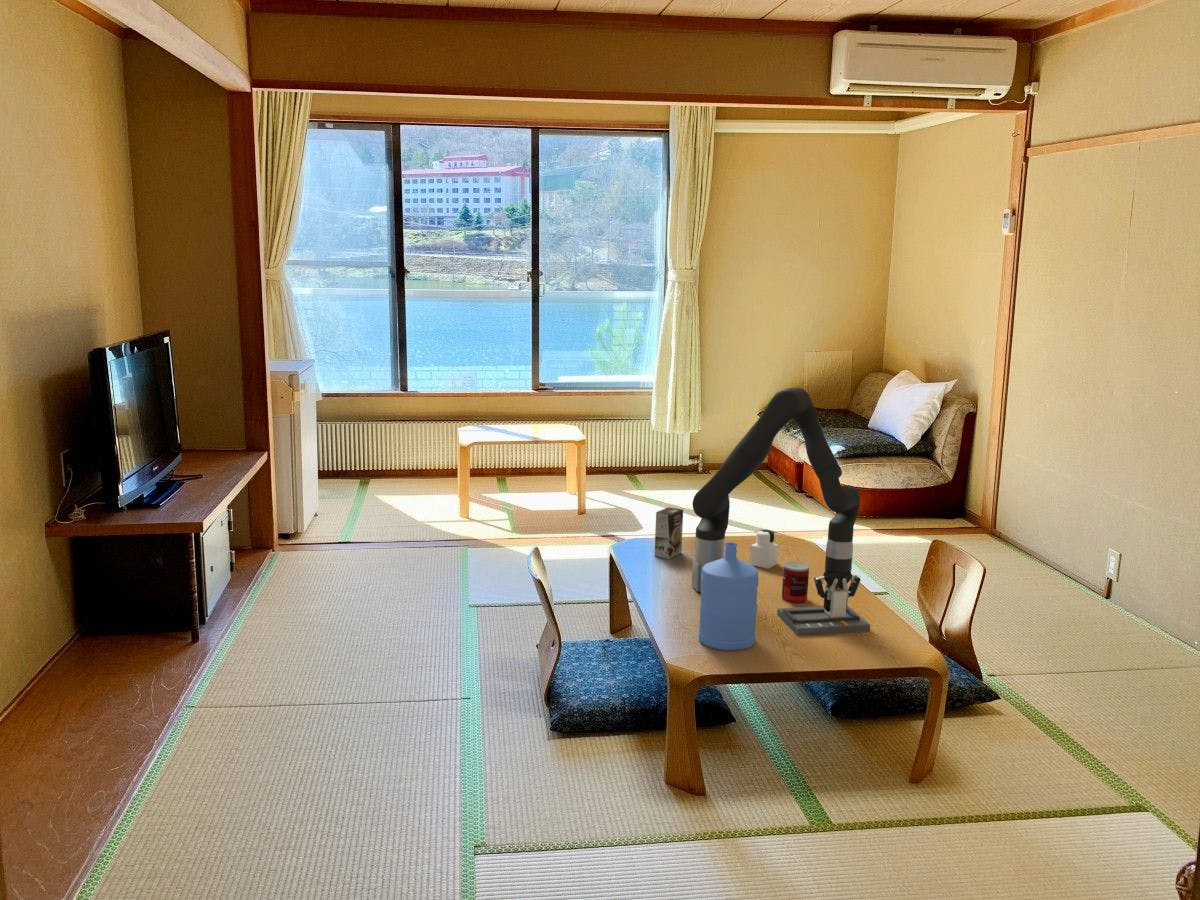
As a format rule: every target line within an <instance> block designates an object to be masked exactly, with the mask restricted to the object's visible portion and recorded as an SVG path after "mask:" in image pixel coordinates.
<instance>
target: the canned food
mask: <svg viewBox="0 0 1200 900" xmlns="http://www.w3.org/2000/svg"><path fill="white" fill-rule="evenodd" d="M782 568H783V569H782V571H783V572H782V584H781V585H782V587H781V597H782V598H781V599H782V600H783V601H785V602H787V603H790V604H804V603H805V602H806V601H807V600H808V593H809V579H810V577H809V575H810V566H809V565H808V564H806V563H804V562H799V561H787V562H785V563H784V564H783V567H782Z"/></svg>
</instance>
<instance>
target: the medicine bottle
mask: <svg viewBox="0 0 1200 900" xmlns="http://www.w3.org/2000/svg"><path fill="white" fill-rule="evenodd" d="M755 534H756V538H755V543H753V544H751V545H750V558H749V559H750V560H749V564H750V565H752V566H754V567H759V568H762V569H768V570H769V569H771V568H772V567H774V566H776V565H777V564H778V563H779V562H778V561H779V560H778V557H779V544H778V543H775V533H774V531H772V530H770V529H759V530H757V531H756V533H755Z"/></svg>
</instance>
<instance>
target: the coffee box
mask: <svg viewBox="0 0 1200 900" xmlns="http://www.w3.org/2000/svg"><path fill="white" fill-rule="evenodd" d="M683 522H684V509H683V508H682V509H681V508H677V507H675V508H674V507H669V506H668V507H665V508H664V509H663V508H662V509H660V510H657V511H656V512H655V529H654V530H655V533H654V557H657V556H658V558H662V557H663V558H662V559H666V558H667V559H666V560H671V559H672V557H673V558H675V557H677V556H678V554H679V555H680V553H681V554H682V551H683V550H682V549H683V526H684V525H683ZM676 555H677V556H676ZM674 556H675V557H674ZM670 558H671V559H670Z"/></svg>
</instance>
